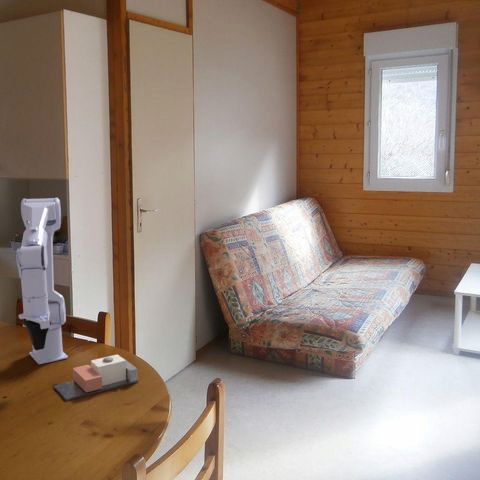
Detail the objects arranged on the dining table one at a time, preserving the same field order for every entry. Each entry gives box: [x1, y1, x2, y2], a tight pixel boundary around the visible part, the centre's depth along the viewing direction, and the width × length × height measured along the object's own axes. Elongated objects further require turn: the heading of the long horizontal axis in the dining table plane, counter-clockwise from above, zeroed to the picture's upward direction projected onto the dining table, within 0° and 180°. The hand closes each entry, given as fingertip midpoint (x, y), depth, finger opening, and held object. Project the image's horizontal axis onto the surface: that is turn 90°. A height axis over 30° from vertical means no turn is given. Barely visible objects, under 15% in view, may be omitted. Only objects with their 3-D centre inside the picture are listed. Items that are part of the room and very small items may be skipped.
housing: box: [90, 354, 126, 386], centre depth 146 cm, size 5×7×5 cm
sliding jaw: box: [72, 364, 102, 393], centre depth 143 cm, size 9×4×3 cm, turn 34°
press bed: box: [53, 357, 139, 402], centre depth 144 cm, size 9×18×4 cm, turn 124°
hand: (39, 348), depth 143 cm, fingers closed
